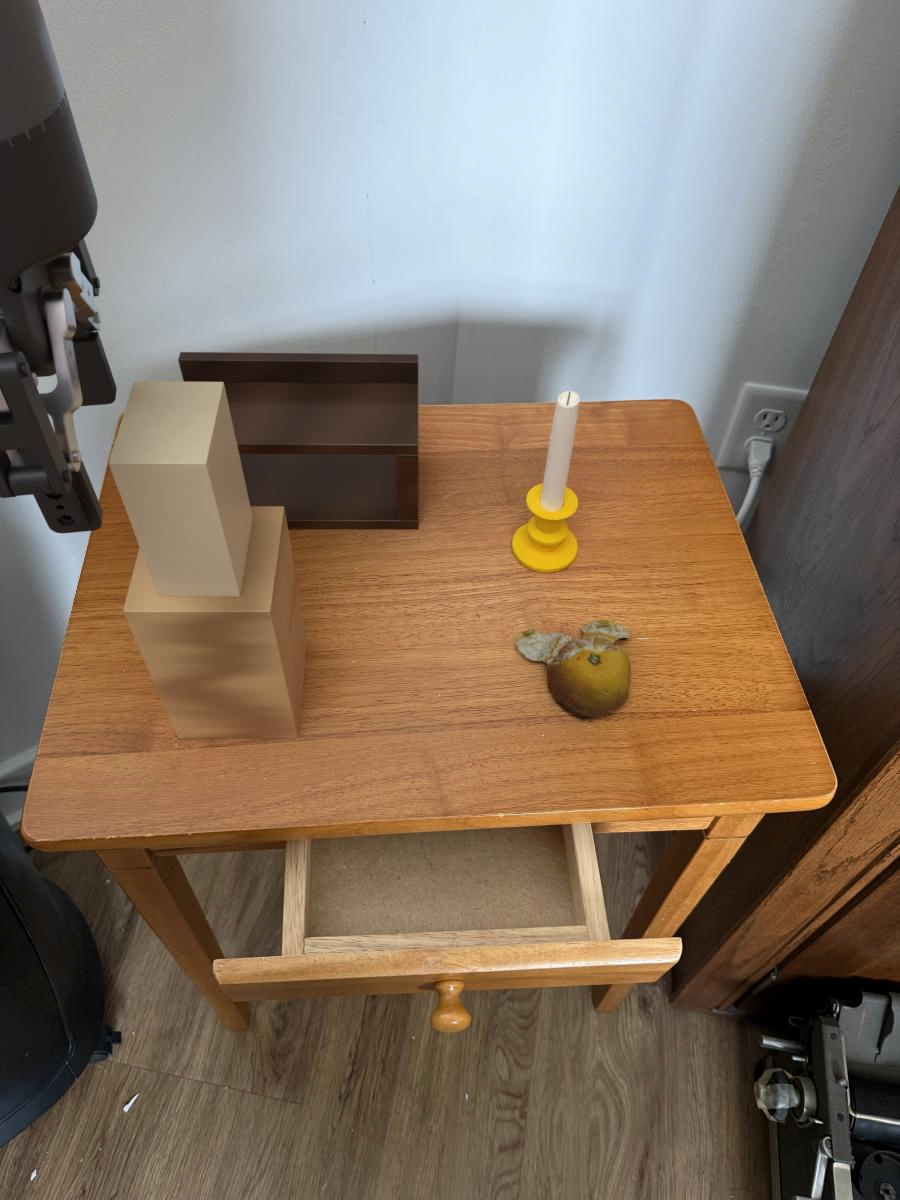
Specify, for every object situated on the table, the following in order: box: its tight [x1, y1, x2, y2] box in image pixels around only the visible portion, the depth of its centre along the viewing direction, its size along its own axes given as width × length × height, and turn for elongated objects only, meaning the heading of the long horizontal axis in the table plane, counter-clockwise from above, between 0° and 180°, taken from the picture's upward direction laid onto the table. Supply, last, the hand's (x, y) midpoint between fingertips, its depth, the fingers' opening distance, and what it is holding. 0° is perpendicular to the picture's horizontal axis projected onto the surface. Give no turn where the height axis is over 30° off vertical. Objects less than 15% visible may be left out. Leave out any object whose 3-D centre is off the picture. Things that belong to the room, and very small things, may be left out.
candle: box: [511, 390, 581, 574], centre depth 64 cm, size 5×5×16 cm
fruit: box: [514, 619, 632, 720], centre depth 62 cm, size 8×8×4 cm
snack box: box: [108, 380, 253, 597], centre depth 47 cm, size 4×6×10 cm
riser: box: [122, 506, 308, 740], centre depth 56 cm, size 8×8×14 cm
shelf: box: [177, 351, 420, 530], centre depth 69 cm, size 18×8×11 cm, turn 91°
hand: (87, 460), depth 42 cm, fingers open, 8 cm apart
